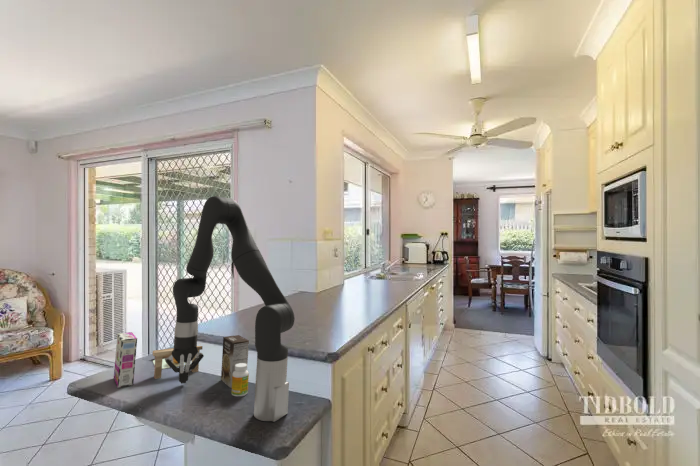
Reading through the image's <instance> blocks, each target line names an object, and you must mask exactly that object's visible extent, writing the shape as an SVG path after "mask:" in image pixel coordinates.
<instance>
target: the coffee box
mask: <svg viewBox="0 0 700 466" xmlns="http://www.w3.org/2000/svg"><path fill="white" fill-rule="evenodd" d="M249 341H250V339H249V340H248V339H247V338H245V337H243V336H241V335H239V334H238V335H227V336H223V339H222V355H221V357H222V358H221V370H220V371H221V373H220V380H221V381H222V383H224V384H225V385H226V386H227V387H228V388H230V389H232V375H233V372H234V371H235V365H236V364H238V363H246V364H247V365H248V361H249V359H248V358H249V348H248V344H249V345H250V342H249ZM246 370H248V368H247V369H246Z"/></svg>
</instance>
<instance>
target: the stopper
mask: <svg viewBox="0 0 700 466" xmlns="http://www.w3.org/2000/svg"><path fill="white" fill-rule="evenodd" d="M171 355H172V354H166V355H163V358H162V359H165V358H168V357H169V356H171ZM154 360H155V357H154Z"/></svg>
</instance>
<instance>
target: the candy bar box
mask: <svg viewBox="0 0 700 466" xmlns="http://www.w3.org/2000/svg"><path fill="white" fill-rule="evenodd" d="M137 343H138V338H137V337H136V335H135V334H134V333H133V332H121V333H117V336H116V346H115V358H114V360H115V361H114V369H113V370H114V371H113V379H115V380H114V382H115V385H116V388H117V389H119V388H124V387H130V386H129V385H131V386H134V382H135V381H134V380H135V368H136V358H137V346H138V344H137Z"/></svg>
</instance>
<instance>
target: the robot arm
mask: <svg viewBox="0 0 700 466" xmlns="http://www.w3.org/2000/svg"><path fill="white" fill-rule="evenodd" d="M217 224H220V225H221V224H222V225H225V226H226V227H227V229H228V231H229V233H230V235H231V238H232V245H231V252H230V253H231V254H230V256H231V261H232V263H233V266H234V268H235V270H236V272H237V273H238V276H239V277H240V278H241V280H242V281H243V282H244V283H245V284H246V285H248V287H250V288H251V289H252V290H253V291H254V292H256V294H257V295H259V297H260V299H261V300H262V302H263V304H264V306H262V307H260V308H259V310H257V313H256V315H255V321H254V322H255V323H254V325H255V326H254V346H255V350H256V369H255V371H256V373H255V387H254V407H253V416H254V418H255V419H256V420H259V421H262V422H274V423H275V422H277V421H278V420H280V419H281V418H283V417H285V416H286V415H287V414H288V412H289V411H288V408H289V393H290V392H289V389H290V387H289V386H290V382H289V381H287V380H288V379H287V377H288V359H289V358H288V357H289V356H288V355H289V349H288V346H287V345H285V344H282V342H281V341H282V339H281V335H282V333H285V332H288V331H289V330H291V329H292V328H293V326H294V324H295V314H294V311H293V308H292V306H291V304H290V302H289V301H288V300H287V298H286V297H285V296H284V294H283V292H282V291H281V289H280V287H279V286H278V284H277V283H276V281H275V279H274V277H273V275H272V273H271V271H270V270H269V267H268V265H267V263H266V261H265V259H264V257H263V255H262V253H261V251H260V248H259V247H258V246H257V244H256V241H255V239H254V237H253V235H252V234H251V231H250V229H249V227H248V225H247V221H246V218H245V216H244V214H243V211H242V208H241V206H240V204H239V203H238V201H236V200H235V199H234V198H230V197H223V196H217V195H214V196H213V195H212V196H210V197H208V198H207V199H206V201H205V203H204V204H203V207H202V211H201V216H200V219H199V225H198V229H197V233H196V238H195V239H196V240H195V243H194V246H193V250H192V252H191V254H190V257H189V260H188V263H187V265H186V269H185V271H186V273H188V275H191V276H192V277H185V278H184V277H183V278H178V279H177V280H175V282H174V284H173V286H172V295H173V299H174V301H175V302H174V303H175V308H176V318H175V325H174V326H175V327H174V336H173V337H174V339H173V348H174V349H173V351H172V355H171V356H169V357H168V358H165V361H166V363H167V364H168V365H169V366H170V367H171V368H170V369H172V371H174V373H175V374H176V373H178V382H179V383H180V384H181V385H182V384H187V382H188V380H189V372H190V371H192V370H193V369H194V368H195V367H196V366H197V364H198V363H199V364H200V361H201V360H202V359H203V358H204V356H205V355H204V354H203V353H202V352H198V349H197V345H198V336H199V335H198V334H199V322H198V321H199V320H198V319H199V306H198V305H197V304H195V303H189V300H188V299H189V298H196V297H197V298H198V297H200V296H201V295H203V294H204V292H205V290H206V286H207V276H208V270H209V268H210V266H211V263H212V261H213V258H214V253H215V252H214V244H213V233H214V230H215V228H216V226H217ZM195 355H196V356H195ZM173 357H174V359H175V360H176V361H177V362H178V364H179V367H176V366H175V365H174V364H173V363H172V362H173ZM194 357H196V358H195V359H194V361H193V362H192V359H193V358H194ZM184 363H185V365H184Z"/></svg>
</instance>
